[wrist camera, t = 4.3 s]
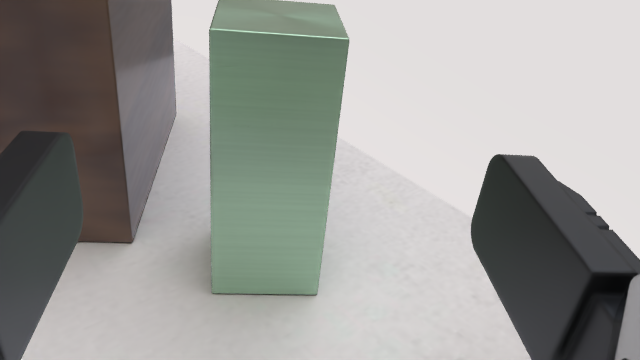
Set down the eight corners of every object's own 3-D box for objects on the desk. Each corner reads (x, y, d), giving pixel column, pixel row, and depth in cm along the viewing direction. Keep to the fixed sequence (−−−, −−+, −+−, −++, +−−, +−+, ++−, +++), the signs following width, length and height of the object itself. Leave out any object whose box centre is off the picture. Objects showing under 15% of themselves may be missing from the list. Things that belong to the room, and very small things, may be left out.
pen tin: (310, 232, 27) (334, 4, 21) (317, 295, 23) (349, 38, 17) (219, 229, 26) (219, -5, 20) (211, 294, 22) (209, 28, 17)
